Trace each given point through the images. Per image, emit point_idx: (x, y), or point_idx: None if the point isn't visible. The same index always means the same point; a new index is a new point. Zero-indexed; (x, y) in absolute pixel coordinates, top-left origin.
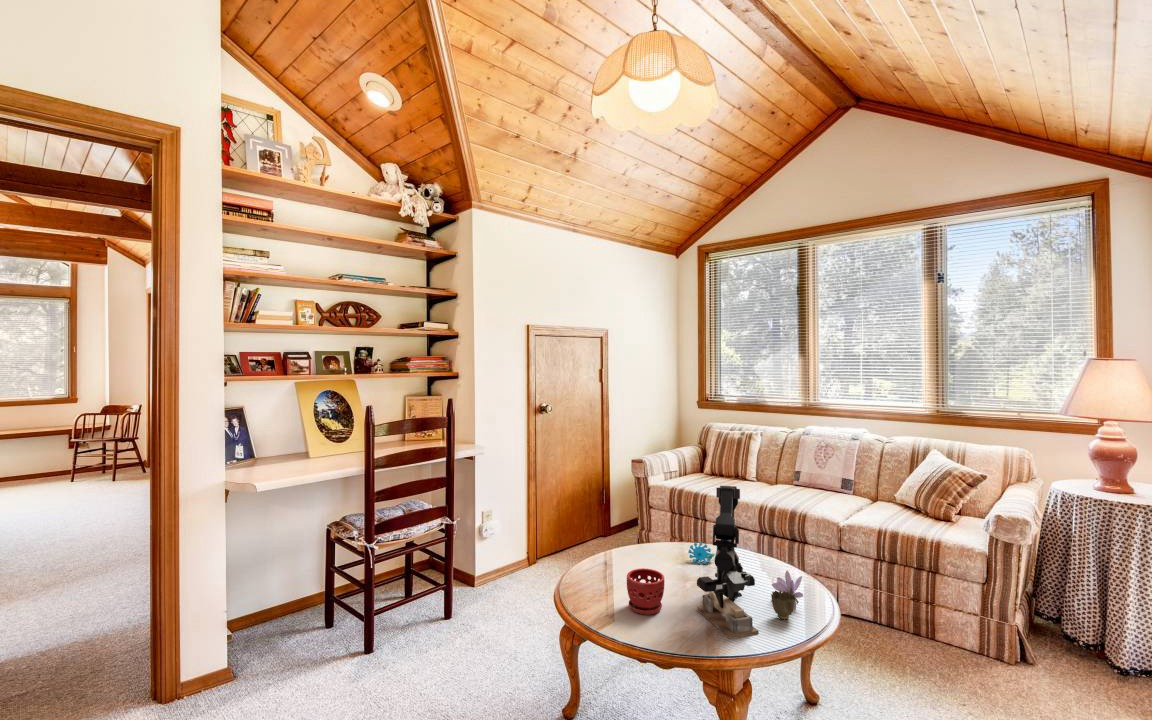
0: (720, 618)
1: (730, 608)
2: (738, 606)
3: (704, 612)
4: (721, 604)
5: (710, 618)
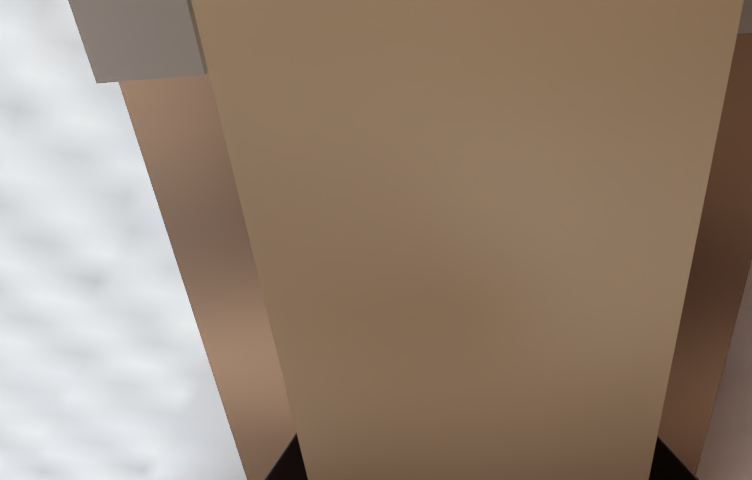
0: None
1: (694, 116)
2: (260, 131)
3: (691, 466)
4: (693, 475)
5: (730, 313)
